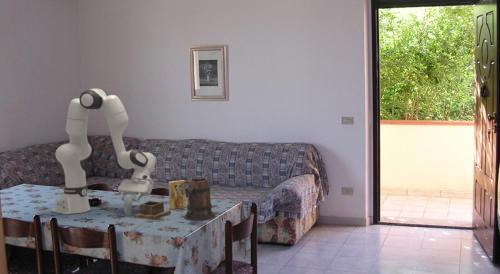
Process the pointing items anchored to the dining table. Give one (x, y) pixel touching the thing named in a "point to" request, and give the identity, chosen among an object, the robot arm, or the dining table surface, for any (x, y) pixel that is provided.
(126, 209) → the grey peg
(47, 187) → the dining table surface
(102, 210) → the dining table surface
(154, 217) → the slot stand
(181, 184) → the candy box
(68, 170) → the robot arm
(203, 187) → the tankard
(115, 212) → the dining table surface
